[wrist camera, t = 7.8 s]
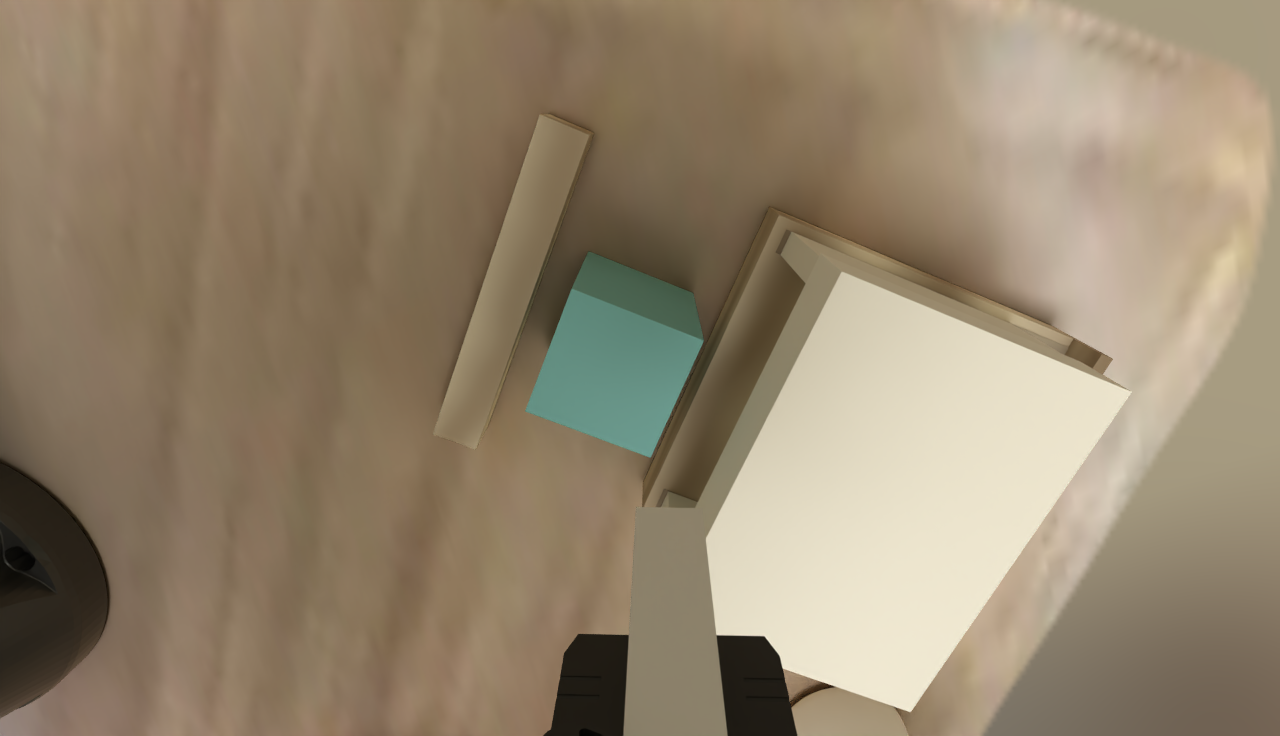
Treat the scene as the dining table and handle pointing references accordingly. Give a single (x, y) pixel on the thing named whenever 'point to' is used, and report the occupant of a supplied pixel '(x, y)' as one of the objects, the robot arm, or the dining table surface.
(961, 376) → the cream bridge stand
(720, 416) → the beige rail frame
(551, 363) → the teal block
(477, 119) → the dining table surface
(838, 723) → the water bottle
